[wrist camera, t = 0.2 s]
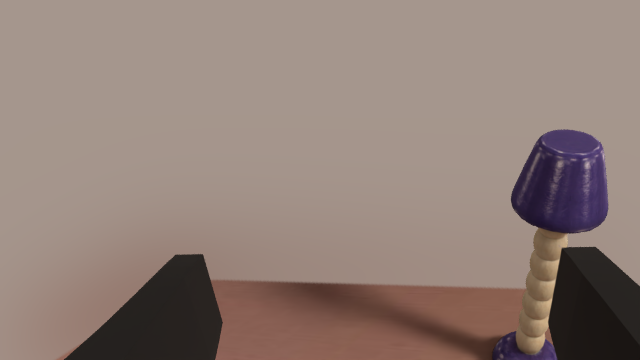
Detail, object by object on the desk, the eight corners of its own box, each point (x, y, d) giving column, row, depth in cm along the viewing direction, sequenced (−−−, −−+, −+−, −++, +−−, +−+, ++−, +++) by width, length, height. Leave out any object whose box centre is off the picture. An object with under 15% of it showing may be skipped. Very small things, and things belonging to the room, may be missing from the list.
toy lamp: (572, 352, 34) (621, 124, 26) (567, 410, 31) (622, 168, 22) (498, 332, 36) (521, 115, 28) (485, 384, 33) (507, 154, 24)
